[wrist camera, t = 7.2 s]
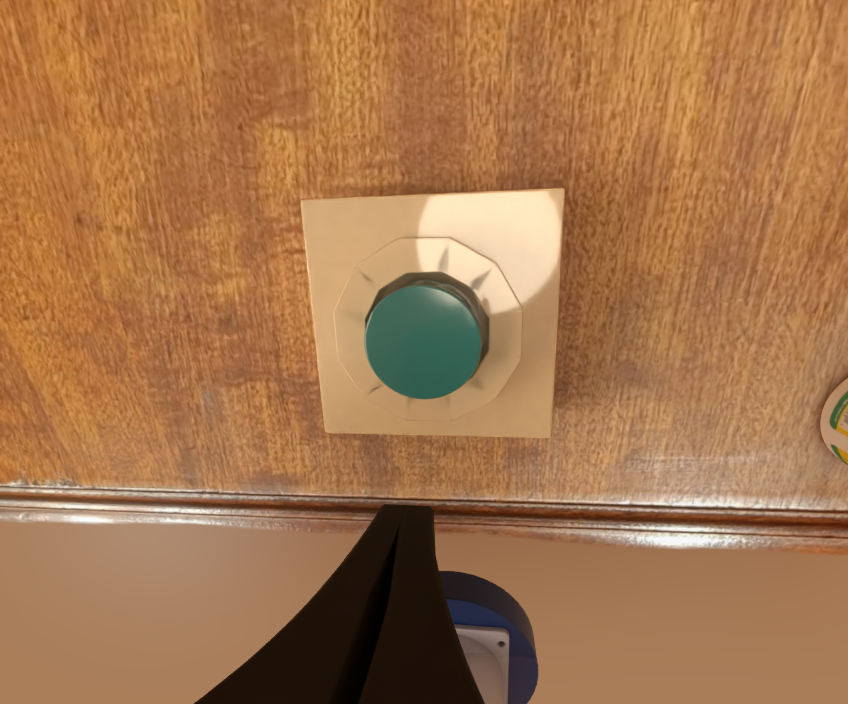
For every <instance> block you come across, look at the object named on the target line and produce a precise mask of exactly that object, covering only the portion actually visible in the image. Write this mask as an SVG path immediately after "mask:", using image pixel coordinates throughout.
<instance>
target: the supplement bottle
mask: <svg viewBox="0 0 848 704" xmlns="http://www.w3.org/2000/svg"><path fill="white" fill-rule="evenodd" d="M820 429H821V434H822V437H823V440H824V442H825V444H826V446H827V447H828V449H829V450H830V451H831V452H832V453H833V454H834V455H835V456H836V457H838V458H839V459H840V460H842V461H843V462H845V463H846V464H848V378H847V379H845V380H844V381H843V382H842V383H840V384H839V385H838V386H837V387H836V388H835V389H834V391H833V392H832V393H831V394H830V396H829V398H828V399H827V401H826V403H825V405H824V407H823V410H822V414H821V420H820Z"/></svg>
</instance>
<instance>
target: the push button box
mask: <svg viewBox="0 0 848 704" xmlns="http://www.w3.org/2000/svg"><path fill="white" fill-rule="evenodd" d="M564 199H565V189H564V188H545V189H522V190H500V191H478V192H455V193H433V194H411V195H388V196H366V197H343V198H321V199H302V200H301V201H300V203H301V212H302V222H303V231H304V241H305V250H306V259H307V269H308V278H309V287H310V297H311V306H312V316H313V325H314V334H315V344H316V353H317V363H318V372H319V381H320V391H321V400H322V409H323V419H324V428H325V433H350V434H393V435H435V436H478V437H520V438H551V437H552V422H553V403H554V385H555V366H556V348H557V329H558V311H559V292H560V273H561V255H562V236H563V218H564ZM421 279H433V280H439V281H442V282H445V283H448V284H450V285H452V286H454V287H456V288H457V289H459V290H460V291H461V292H463V293H464V294H465V295H466V296H467V297H468V298H469V300H470V301H471V302H472V304H473V305H474V307H475V309H476V311H477V313H478V316H479V319H480V324H481V334H482V352H481V356H480V360H479V363H478V366H477V368H476V370H475V372H474V373H473V375H472V376H471V377H470V379H469V380H468V381H467V382H466V383H465V384H464V385H463V386H462V387H460V388H459V389H458V390H456V391H454V392H453V393H451V394H448V395H446V396H443V397H440V398H435V399H415V398H410V397H407V396H404V395H401V394H399V393H397V392H395V391H393V390H392V389H390V388H389V387H387V386H386V385H385V384H384V383H383V382H382V381H381V380H380V379H379V378H378V377H377V376H376V374H375V373H374V371H373V370H372V368H371V366H370V364H369V362H368V359H367V356H366V352H365V346H364V335H365V328H366V325H367V321H368V319H369V317H370V315H371V313H372V311H373V309H374V308H375V307H376V306H377V304H378V303H379V302H380V301H381V300H382V299H383V298H384V297H386V296H387V295H388V294H390V293H391V292H392V291H394V290H395V289H396V288H398V287H400V286H401V285H403V284H405V283H408V282H411V281H415V280H421Z"/></svg>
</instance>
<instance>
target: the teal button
mask: <svg viewBox="0 0 848 704" xmlns="http://www.w3.org/2000/svg"><path fill="white" fill-rule="evenodd" d="M364 346H365V352H366V356H367V359H368V362H369V364H370V366H371V368H372V370H373V371H374V373H375V374H376V376H377V377H378V378H379V379H380V380H381V381H382V382H383V383H384V384H385V385H386V386H387V387H389V388H390V389H392V390H393V391H395V392H397V393H399V394H401V395H404V396H407V397H410V398H415V399H435V398H440V397H443V396H446V395H448V394H451V393H453V392H454V391H456V390H458V389H459V388H460V387H462V386H463V385H464V384H465V383H466V382H467V381H468V380H469V379H470V377H471V376H472V375H473V373H474V372H475V370H476V368H477V366H478V363H479V360H480V356H481V352H482V334H481V324H480V319H479V316H478V313H477V311H476V309H475V307H474V305H473V304H472V302H471V301H470V300H469V298H468V297H467V296H466V295H465V294H464V293H463V292H461V291H460V290H459V289H457V288H456V287H454V286H452V285H450V284H448V283H445V282H442V281H439V280H433V279H421V280H415V281H411V282H408V283H405V284H403V285H401V286H400V287H398V288H396V289H395V290H394V291H392V292H391V293H390V294H388V295H387V296H386V297H384V298H383V299H382V300H381V301H380V302H379V303H378V304H377V306H376V307H375V308H374V309H373V311H372V313H371V315H370V317H369V319H368V321H367V325H366V328H365V335H364Z"/></svg>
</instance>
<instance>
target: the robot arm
mask: <svg viewBox="0 0 848 704" xmlns="http://www.w3.org/2000/svg"><path fill="white" fill-rule="evenodd" d="M500 641H503V642H500ZM508 665H509V632H508V631H507V630H506V629H504V628H499V627H486V626H473V625H460V624H453V621H452V618H451V615H450V612H449V608H448V605H447V601H446V598H445V594H444V591H443V587H442V583H441V579H440V575H439V570H438V565H437V560H436V556H435V532H434V510H433V509H432V508H431V507H430V506H412V505H389V504H384V505H383V506H382V507H381V508H380V510H379V511H378V513H377V515H376V516H375V518H374V519H373V521H372V522H371V524H370V525H369V527H368V528H367V530H366V531H365V532H364V534H363V535H362V537H361V538H360V540H359V541H358V542H357V544H356V545H355V546H354V548H353V549H352V550H351V552H350V553H349V554H348V555H347V557H346V558H345V559H344V561H343V562H342V563H341V565H340V566H339V567H338V568H337V570H336V571H335V572H334V573H333V574H332V575H331V577H330V578H329V579H328V580H327V581H326V583H325V584H324V585H323V586H322V587H321V588H320V590H319V591H318V592H317V593H316V594H315V595H314V596H313V598H312V599H311V600H310V601H309V602H308V603H307V604H306V605H305V606H304V607H303V608H302V609H301V610H300V611H299V613H298V614H297V615H296V616H295V617H294V618H293V619H292V620H291V621H290V622H289V623H288V624H287V625H286V626H285V627H284V628H283V629H282V630H280V631H279V632H278V633H277V634H276V635H275V636H274V637H273V638H272V639H271V640H270V641H269V642H268V643H266V644H265V646H263V647H262V648H261V649H260V650H259V651H258V652H257V653H256V654H254V655H253V656H252V657H251V658H250V659H249V660H248V661H246V662H245V663H244V664H243V665H242V666H240V667H239V668H238V669H237V670H236V671H234V672H233V673H232V674H231V675H229V676H228V677H227V678H226V679H224V680H223V681H222V682H221V683H219V684H218V685H217V686H216V687H214V688H213V689H212V690H211V691H209V692H208V693H207V694H206V695H204V696H203V697H202V698H201V699H199V700H198V701H197V702H195V703H194V704H507V701H508Z"/></svg>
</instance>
